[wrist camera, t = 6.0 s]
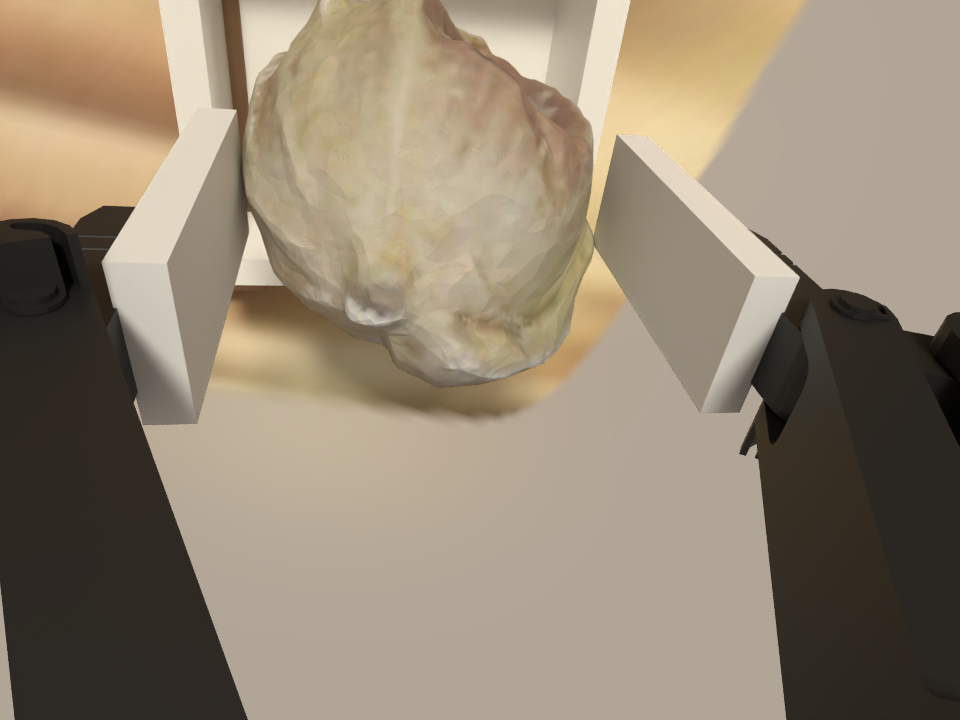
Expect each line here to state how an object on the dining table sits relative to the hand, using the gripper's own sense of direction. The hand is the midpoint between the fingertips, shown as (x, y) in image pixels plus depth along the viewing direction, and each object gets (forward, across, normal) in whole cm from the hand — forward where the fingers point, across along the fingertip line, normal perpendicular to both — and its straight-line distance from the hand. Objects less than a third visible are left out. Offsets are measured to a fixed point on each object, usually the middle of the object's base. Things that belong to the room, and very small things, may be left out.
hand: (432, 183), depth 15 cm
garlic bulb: (+5, 0, 0) cm, 5 cm away
